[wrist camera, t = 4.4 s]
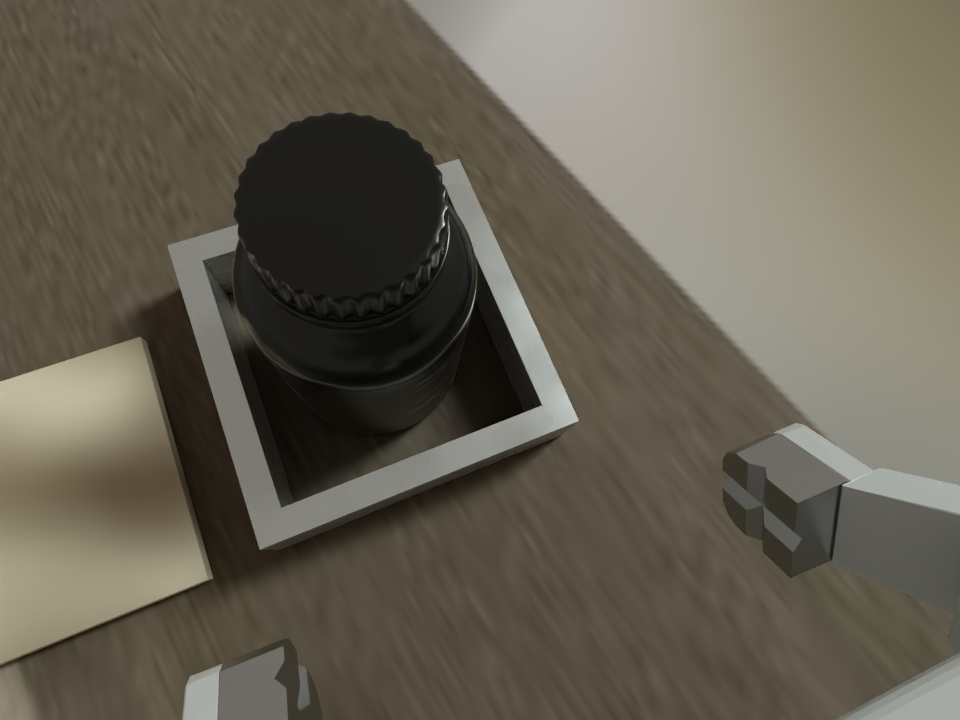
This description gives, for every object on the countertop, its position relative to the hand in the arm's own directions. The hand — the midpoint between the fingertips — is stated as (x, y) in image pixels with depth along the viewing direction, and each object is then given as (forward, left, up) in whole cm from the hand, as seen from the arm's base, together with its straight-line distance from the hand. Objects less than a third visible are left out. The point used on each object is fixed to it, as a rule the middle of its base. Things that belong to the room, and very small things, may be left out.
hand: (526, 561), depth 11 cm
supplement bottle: (+9, +1, -13) cm, 16 cm away
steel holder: (+9, +1, -13) cm, 16 cm away
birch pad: (+8, +14, -13) cm, 20 cm away
